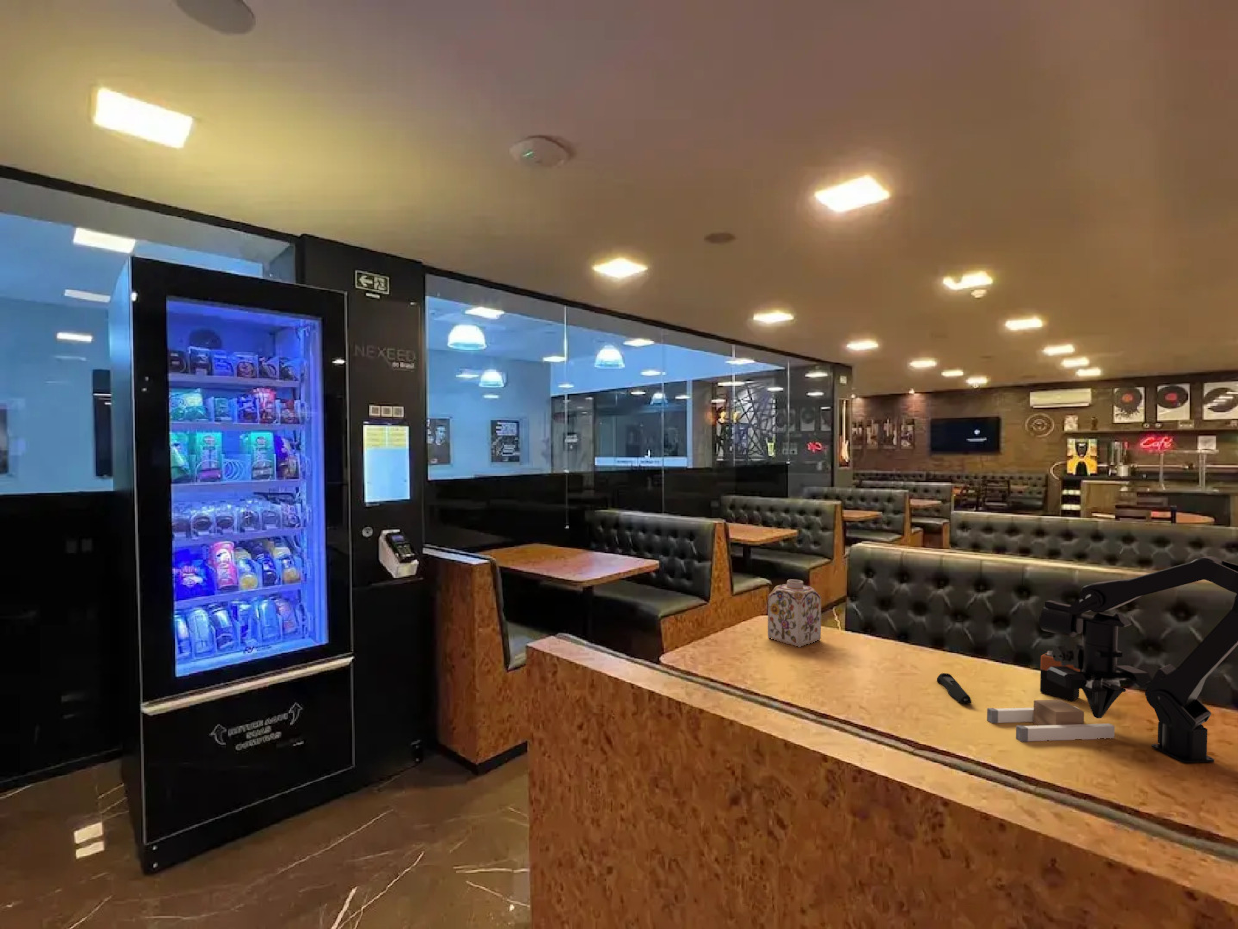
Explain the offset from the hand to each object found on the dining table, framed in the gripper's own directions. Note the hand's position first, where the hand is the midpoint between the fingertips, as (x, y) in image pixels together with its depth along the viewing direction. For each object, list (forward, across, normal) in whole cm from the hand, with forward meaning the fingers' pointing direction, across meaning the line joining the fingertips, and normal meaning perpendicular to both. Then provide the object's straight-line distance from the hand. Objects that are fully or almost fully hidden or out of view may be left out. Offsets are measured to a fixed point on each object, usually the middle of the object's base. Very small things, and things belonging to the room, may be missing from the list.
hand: (1097, 717), depth 128 cm
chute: (+2, +11, 0) cm, 11 cm away
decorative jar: (+3, +42, -62) cm, 75 cm away
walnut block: (+2, +9, 0) cm, 9 cm away
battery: (+2, -6, -17) cm, 18 cm away
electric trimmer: (+3, +18, -19) cm, 27 cm away
